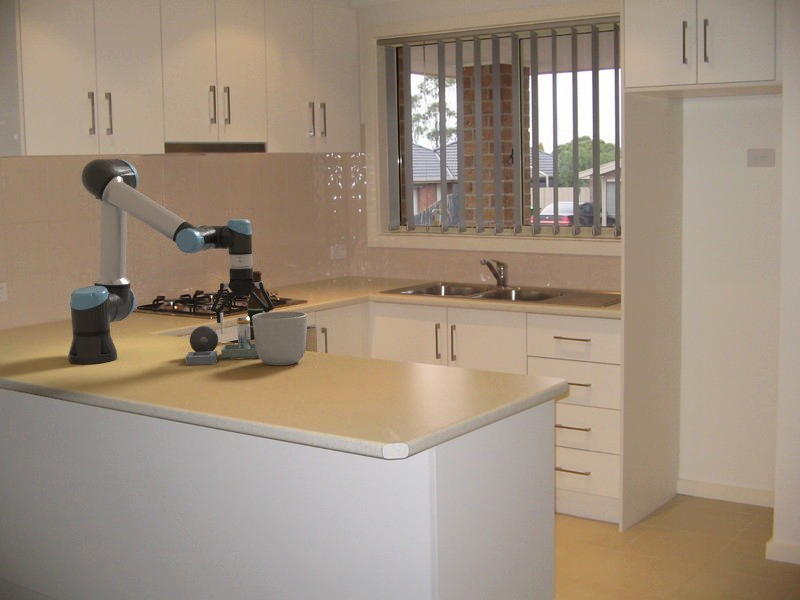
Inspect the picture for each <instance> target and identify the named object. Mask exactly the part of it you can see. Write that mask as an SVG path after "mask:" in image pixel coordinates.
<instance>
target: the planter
mask: <svg viewBox="0 0 800 600" xmlns="http://www.w3.org/2000/svg"><path fill="white" fill-rule="evenodd" d="M252 321H253V330H254V339H253V340H254V344H255V347H256V352H257V355H258V357H259V358H258V359H259V360H260V361H261V362H263V363H264V364H266V365H269V366H274V367H275V366H279V367H280V366H289V365H290V366H291V365H294V364H296V363H298V362H299V361H300V360H301V359H302V358H303V357H304V355H305V352H306V348H307V329H308V328H307V326H308V314H307V313H306V312H303V311H295V310H292V311H289V310H287V311H286V310H283V311H280V310H278V311H269V312H266V313H259V314H255V315H253V316H252Z"/></svg>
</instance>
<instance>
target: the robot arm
mask: <svg viewBox="0 0 800 600" xmlns="http://www.w3.org/2000/svg"><path fill="white" fill-rule="evenodd" d="M81 182H82V185H83V187H84V188H85V190H86V191H87V192H88V193H89V194H90V195H92V196H93V197H95V201H96V202H97V203H98V204H99V205H100V206H99V207H100V212H99V213H100V214H99V215H100V217H99V267H98V269H99V270H98V271H99V272H98V274H99V275H98V277H97V278H96V279H95V280H94V285H92V286H91V285H90V286H89V285H88V286H86V287H81V288H77V289H74V290H73V291H71V294H70V304H69V305H70V311H71V312H70V314H71V315H70V316H71V327H72V328H71V329H72V341H71V343H70V348H69V352H68V362H69V363H71V364H77V365H78V364H79V365H89V364H91V365H93V364H100V363H107V362H111V361H115V360H117V359H118V351H117V349H116V345H115V343H114V341H113V338H112V335H111V323H114V322H119V321H123V320H124V319H126V318H128V317H129V316H130V315H131V314H133V312H134V310H135V308H136V305H137V297H136V295H135V292H134V291H133V289H132V287H131V280H129V278H127V236H128V235H127V234H128V229H127V228H128V214H129V215H130V216H132V217H133V218H135V219H136V220H138V221H140V222H142V223H143V224H144V225H146V226H148V227H150V228H151V229H152V230H154V231H156V232H157V233H159V234H161V235H162V236H164V237H166V238H167V239H169V240H170V241H172V242H174V243H175V244H176V246H177V248H178V249H179V251H181V252H182V253H185V254H197V253H199V252H202V251H208V250H228V266H229V267H230V268H229V269H228V271H229V282H228V283H225V282H224V281H223V282H220V284H219V290H218V292H217V294H216V297H215V299H214V301H213V304H212V306H211V308H210V312H211V313H215V314H216V323H217V324H220V325H219V326H220V334H222V335H223V334H225V333H224V332H225V331H224V327H225V326H224V325H225V324H224V312H222V311H223V309H225V307H226V306H227V305H228V304H229V302H230V301H231V299H232V298H233V297H234V296H236V297H247V296H249V297H250V296H251V297H252V298H253V299H254V300H255V301H256V302H257V303H258V304H259V305H260V306H261V308H262V309H263V310H264V311H263V313H266V312H272V311H273V310H274V309H275V305H274V304H273V302H272V300H271V299H270V297H269V295H268V292H267V291H266V289H265V286H264V282H263V281H262V280H261V281H260V282H257V283H254V281H253V272H254V269H253V267H252V266H253V265H254V264H253V238H252V236H253V232H252V223H251V220H249V219H247V218H241V219H228V221H227V225H205V224H204V225H197V226H194V224H191V223H190V222H188V221H187V220H185V219H184V218H182V217H180V216H178V215H177V214H175V212H172V211H170V210H169V209H167V208H166V207H164V206H162V205H161V204H159V203H158V202H156V201H154V200H153V199H151V198H150V197H148V196H146V195H145V194H143V193H142V192H140V191H138V190H137V188H138V185H139V174H138V170H137V169H136V168H135V166H134V165H133V164H132V163H130V162H129V161H128V160H125V159H119V158H96V159H93V160H91V161H89V162H87V164H85V166H84V167H83V169H82V171H81ZM255 286H256V287H257V288H258V289H260V291H261V293H262V295H263V296H264V298H265V300H266V302H267V304H268V307H267V306H266V305H265V304H264V303H263V302H262V301H261V300H260V299H259V297H258V296H257V295H256V294H255V293H254V292H253V291H252V290H253V288H254V287H255ZM227 288H229V290H230V293H229V295H227V297H226V298H225V299H224V301H223V302H222V303H221V304H220V306H219V307H218V308H217V306H218V304H219V302H220V299H221V297H222V295H223V293H224V291H225V290H227Z"/></svg>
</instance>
